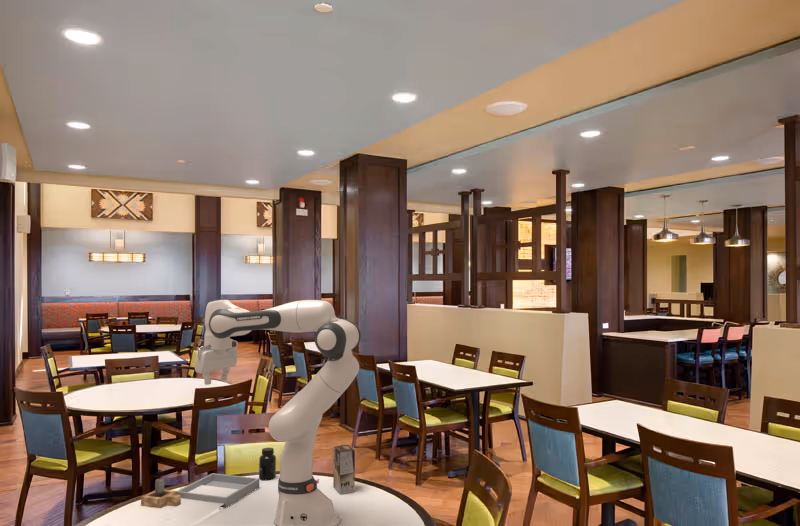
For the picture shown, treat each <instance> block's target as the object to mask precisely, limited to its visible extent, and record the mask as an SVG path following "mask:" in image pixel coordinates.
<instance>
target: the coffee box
mask: <svg viewBox="0 0 800 526" xmlns="http://www.w3.org/2000/svg"><path fill="white" fill-rule="evenodd" d="M355 456H356V450H355V449H354V448H352V447H351V446H349V444H344V445H337V446H333V456H332V457H333V460H332V461H333V465H332V467H333V477H332V478H333V482H332V483H333V488H334V489H335V490H336V491H337V492H338V494H340V495H344V494H351V493H355V491H356V489H355V488H356V485H355V484H356V483H355V482H356V476H355V475H356V473H355V472H356V467H355V466H356V465H355V464H356V461H355V460H356V457H355Z"/></svg>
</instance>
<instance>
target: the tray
mask: <svg viewBox="0 0 800 526" xmlns="http://www.w3.org/2000/svg"><path fill="white" fill-rule="evenodd" d="M200 486H206V487H207V486H208V487H215V488H223V489H231V490H235V491H234V492H232V493H230V494H228V495H227V496H220V495H210V494H203V493H195V492H191V491H192V490H195V489H196V488H198V487H200ZM257 488H258V489H259V488H260V479H259V477H258V478H256V477H249V476H248V477H247V476H241V475H240V476H239V475H232V474H223V473H214V472H213V473H210V474H207V475H206V476H204V477H201V479H198V480H195V481H194V482H192V483H190V484H188V485H186V486H184V487H182V488H180V489H178V490H177V491H178V495H181V499H184V500H185V499H186V500H192V501H193V500H194V501H200V502H201V501H202V502H208V503H216V504H222V505H220V506H219V508H221V507H225V508H224V509H227V508H229V507H230V506H232V505H233V503H234V502H235V503H237V502H239V501H240V500H242V499H244V498H245V497H247V496H248V495H250V494H251V493H253V492H254V490H255V489H256V490H258V489H257ZM256 490H255V491H256ZM252 491H253V492H252ZM250 492H251V493H250ZM249 493H250V494H249ZM247 494H248V495H247ZM246 495H247V496H246ZM244 496H245V497H244ZM241 498H242V499H241ZM239 499H240V500H239ZM236 501H237V502H236ZM235 503H234V504H235ZM231 504H232V505H231ZM228 506H229V507H228ZM226 507H227V508H226Z"/></svg>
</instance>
